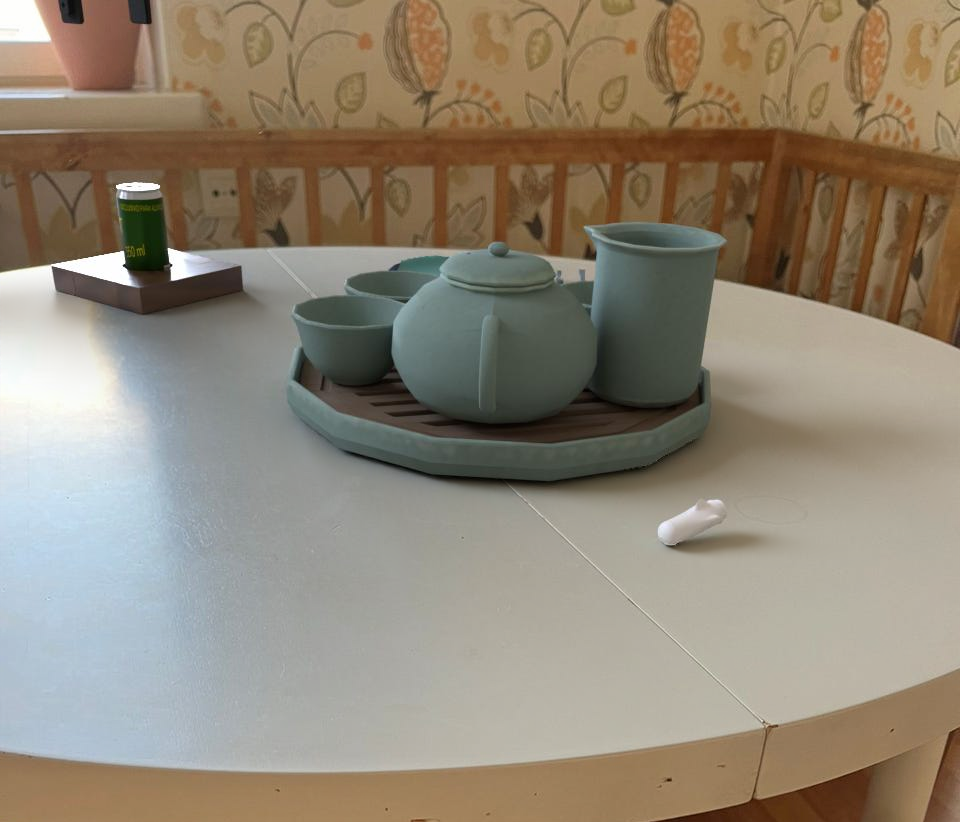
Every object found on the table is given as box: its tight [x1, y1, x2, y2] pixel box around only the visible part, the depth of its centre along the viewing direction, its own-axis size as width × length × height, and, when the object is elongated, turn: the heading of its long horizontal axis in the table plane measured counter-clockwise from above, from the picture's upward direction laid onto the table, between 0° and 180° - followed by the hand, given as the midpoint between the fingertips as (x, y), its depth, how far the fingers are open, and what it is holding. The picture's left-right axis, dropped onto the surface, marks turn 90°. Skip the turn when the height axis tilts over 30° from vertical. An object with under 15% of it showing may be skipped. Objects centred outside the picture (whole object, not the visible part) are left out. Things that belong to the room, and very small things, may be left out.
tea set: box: [285, 221, 728, 482], centre depth 96 cm, size 40×40×16 cm
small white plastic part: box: [654, 498, 728, 545], centre depth 76 cm, size 4×6×3 cm, turn 97°
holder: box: [50, 248, 244, 315], centre depth 130 cm, size 16×16×3 cm
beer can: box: [115, 182, 171, 271], centre depth 127 cm, size 5×5×12 cm
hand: (108, 23), depth 123 cm, fingers open, 9 cm apart
